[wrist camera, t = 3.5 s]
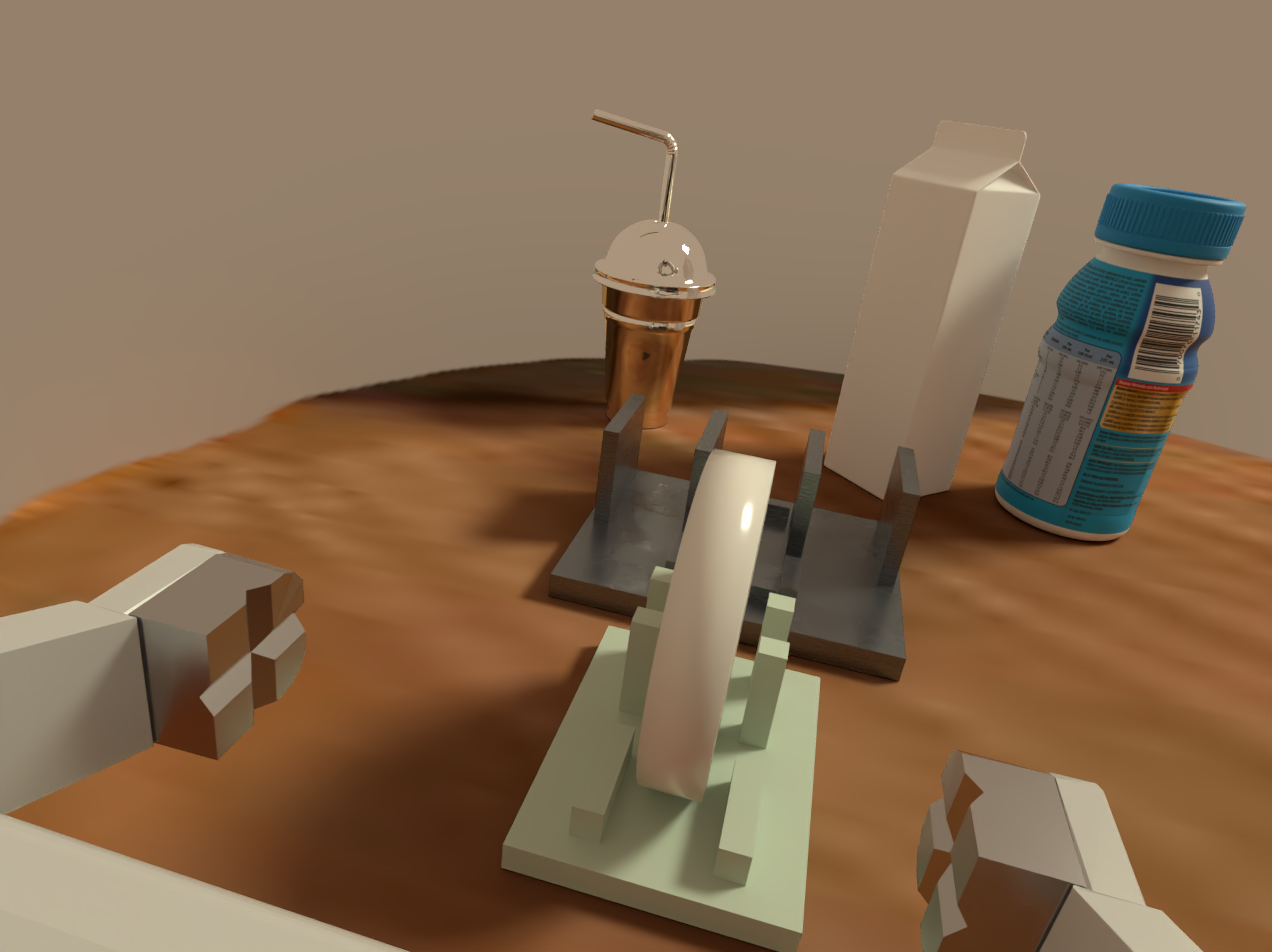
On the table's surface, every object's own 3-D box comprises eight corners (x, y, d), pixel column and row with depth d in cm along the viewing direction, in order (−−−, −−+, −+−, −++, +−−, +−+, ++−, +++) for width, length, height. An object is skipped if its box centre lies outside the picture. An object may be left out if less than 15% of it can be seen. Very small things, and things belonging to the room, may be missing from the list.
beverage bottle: (971, 508, 54) (1079, 179, 46) (1011, 473, 60) (1112, 178, 52) (1113, 562, 50) (1262, 209, 41) (1140, 518, 56) (1274, 204, 47)
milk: (882, 455, 60) (971, 123, 51) (950, 492, 56) (1062, 135, 47) (820, 466, 57) (904, 114, 48) (888, 506, 53) (994, 126, 44)
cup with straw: (666, 451, 56) (715, 128, 48) (549, 416, 59) (575, 107, 51) (711, 415, 63) (760, 129, 55) (604, 385, 67) (635, 110, 58)
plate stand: (815, 696, 35) (842, 595, 33) (795, 956, 24) (833, 830, 22) (606, 644, 36) (619, 544, 34) (501, 867, 26) (510, 742, 24)
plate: (734, 663, 35) (787, 414, 30) (684, 883, 25) (751, 563, 20) (686, 651, 35) (731, 403, 30) (619, 864, 25) (670, 545, 21)
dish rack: (889, 543, 48) (918, 443, 46) (898, 681, 37) (937, 558, 34) (619, 484, 51) (631, 387, 48) (548, 595, 39) (559, 476, 37)
